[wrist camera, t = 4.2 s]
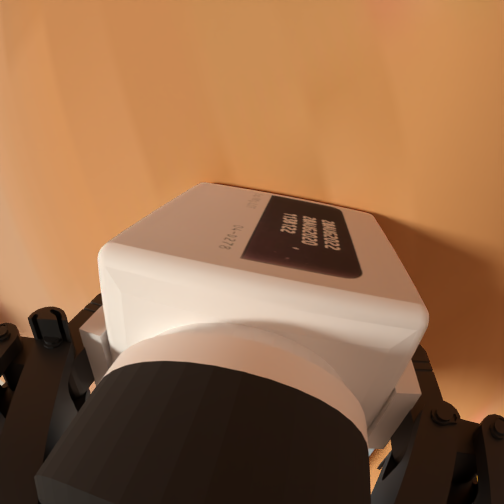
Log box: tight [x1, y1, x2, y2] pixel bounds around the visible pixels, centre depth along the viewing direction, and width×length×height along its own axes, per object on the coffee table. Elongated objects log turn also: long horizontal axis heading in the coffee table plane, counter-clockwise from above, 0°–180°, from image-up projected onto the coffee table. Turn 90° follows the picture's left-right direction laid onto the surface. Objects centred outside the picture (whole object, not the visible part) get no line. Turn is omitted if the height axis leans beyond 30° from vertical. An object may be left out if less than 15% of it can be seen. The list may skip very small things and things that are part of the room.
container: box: [34, 182, 429, 504], centre depth 9 cm, size 8×8×13 cm
